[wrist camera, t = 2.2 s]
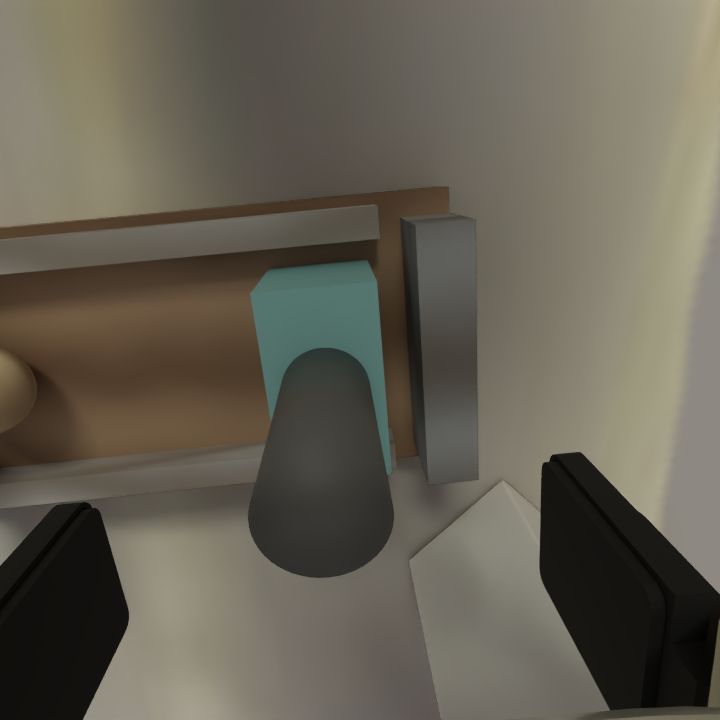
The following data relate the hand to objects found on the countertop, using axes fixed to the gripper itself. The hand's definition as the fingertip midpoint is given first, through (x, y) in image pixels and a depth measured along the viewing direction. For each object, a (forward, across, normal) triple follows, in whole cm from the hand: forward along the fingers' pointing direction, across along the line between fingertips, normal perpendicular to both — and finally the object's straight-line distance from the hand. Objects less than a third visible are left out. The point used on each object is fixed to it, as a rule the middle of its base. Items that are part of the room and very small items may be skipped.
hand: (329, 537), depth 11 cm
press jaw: (+12, 0, -1) cm, 12 cm away
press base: (+14, +7, -1) cm, 16 cm away
